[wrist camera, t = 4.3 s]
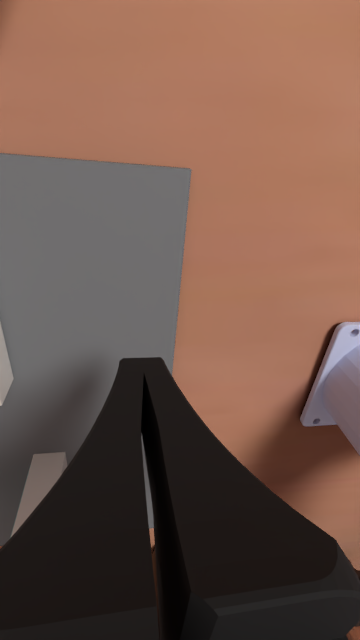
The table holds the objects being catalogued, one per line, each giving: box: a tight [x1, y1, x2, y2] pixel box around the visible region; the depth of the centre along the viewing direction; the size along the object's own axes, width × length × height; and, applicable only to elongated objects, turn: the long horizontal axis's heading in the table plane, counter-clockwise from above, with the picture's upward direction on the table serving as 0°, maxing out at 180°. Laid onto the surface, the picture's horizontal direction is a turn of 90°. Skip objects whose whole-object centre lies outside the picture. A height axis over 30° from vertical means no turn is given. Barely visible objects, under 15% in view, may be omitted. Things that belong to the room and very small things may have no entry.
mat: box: [0, 153, 191, 546], centre depth 18 cm, size 15×26×1 cm, turn 175°
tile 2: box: [10, 452, 67, 538], centre depth 18 cm, size 2×8×6 cm, turn 175°
